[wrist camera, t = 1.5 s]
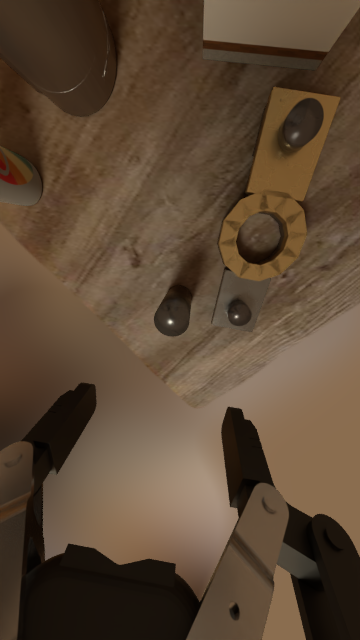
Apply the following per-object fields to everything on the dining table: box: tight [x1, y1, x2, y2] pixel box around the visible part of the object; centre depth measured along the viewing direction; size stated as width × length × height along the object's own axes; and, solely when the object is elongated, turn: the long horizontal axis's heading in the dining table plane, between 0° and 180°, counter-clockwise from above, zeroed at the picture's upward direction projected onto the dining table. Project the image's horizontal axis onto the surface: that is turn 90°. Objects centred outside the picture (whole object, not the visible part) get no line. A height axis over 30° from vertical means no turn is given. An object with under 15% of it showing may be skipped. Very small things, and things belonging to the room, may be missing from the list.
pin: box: [154, 285, 192, 336], centre depth 25 cm, size 4×4×9 cm
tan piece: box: [211, 87, 341, 332], centre depth 23 cm, size 10×26×4 cm, turn 171°
